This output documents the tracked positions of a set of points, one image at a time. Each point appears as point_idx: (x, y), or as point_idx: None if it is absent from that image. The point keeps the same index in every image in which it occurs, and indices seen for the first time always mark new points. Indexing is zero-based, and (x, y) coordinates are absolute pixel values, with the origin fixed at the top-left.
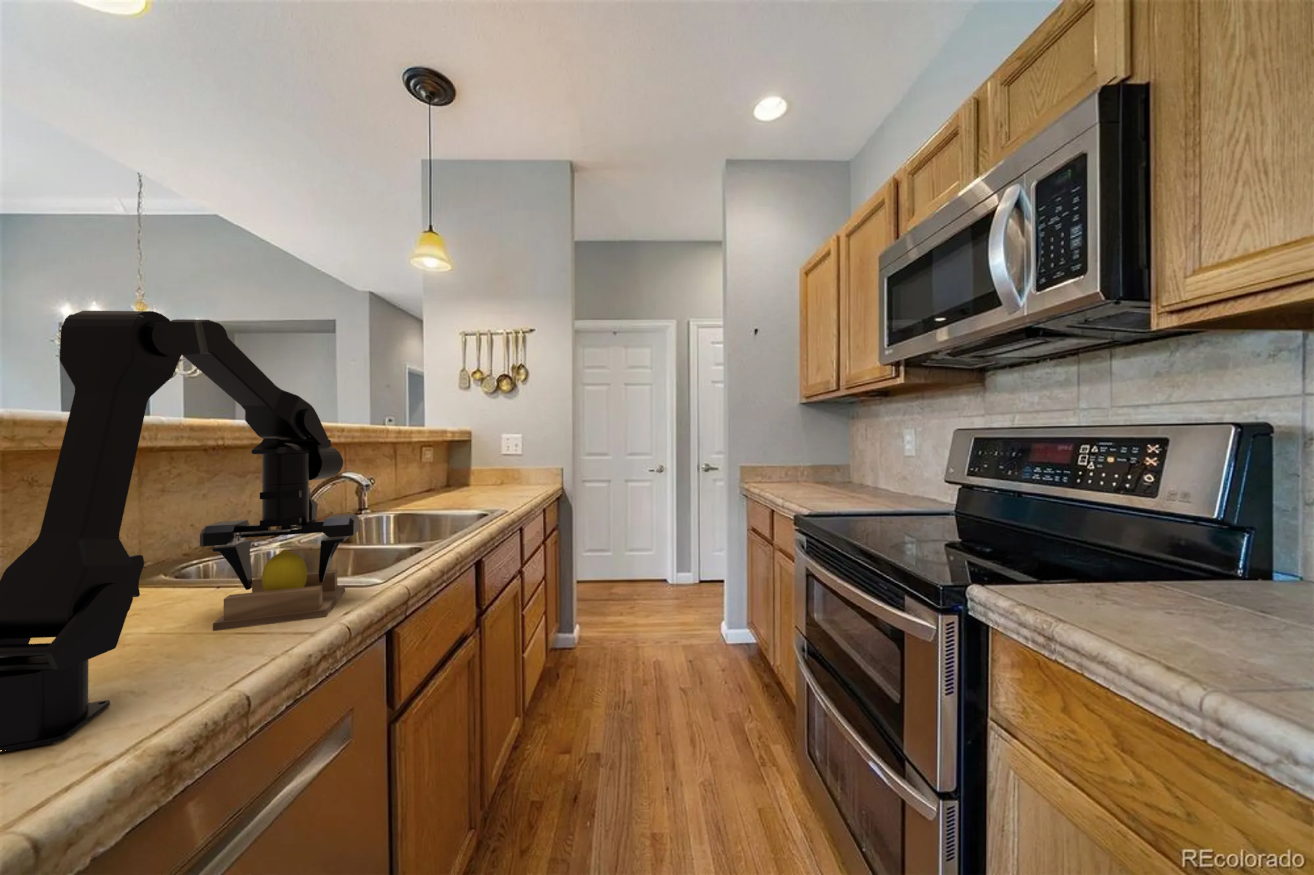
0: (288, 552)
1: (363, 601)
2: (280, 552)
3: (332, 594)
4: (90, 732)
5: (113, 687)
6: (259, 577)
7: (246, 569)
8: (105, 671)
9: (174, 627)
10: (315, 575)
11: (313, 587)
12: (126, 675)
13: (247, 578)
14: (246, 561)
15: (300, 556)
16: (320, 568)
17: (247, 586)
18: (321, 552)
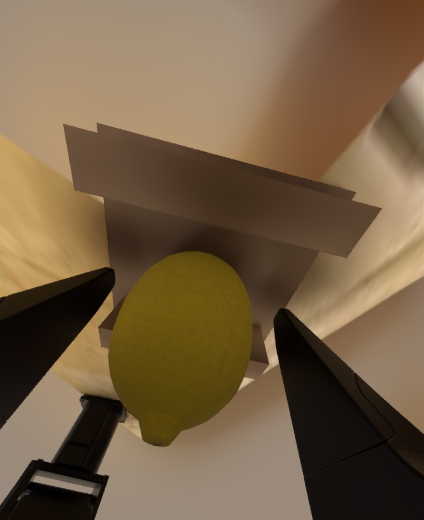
0: (180, 431)
1: (332, 300)
2: (140, 427)
3: (294, 267)
4: (132, 416)
5: (108, 382)
6: (83, 150)
7: (60, 338)
8: (77, 356)
9: (49, 255)
10: (282, 240)
11: (251, 367)
12: (102, 370)
13: (91, 315)
14: (19, 359)
15: (235, 388)
16: (285, 376)
17: (107, 292)
18: (308, 477)
